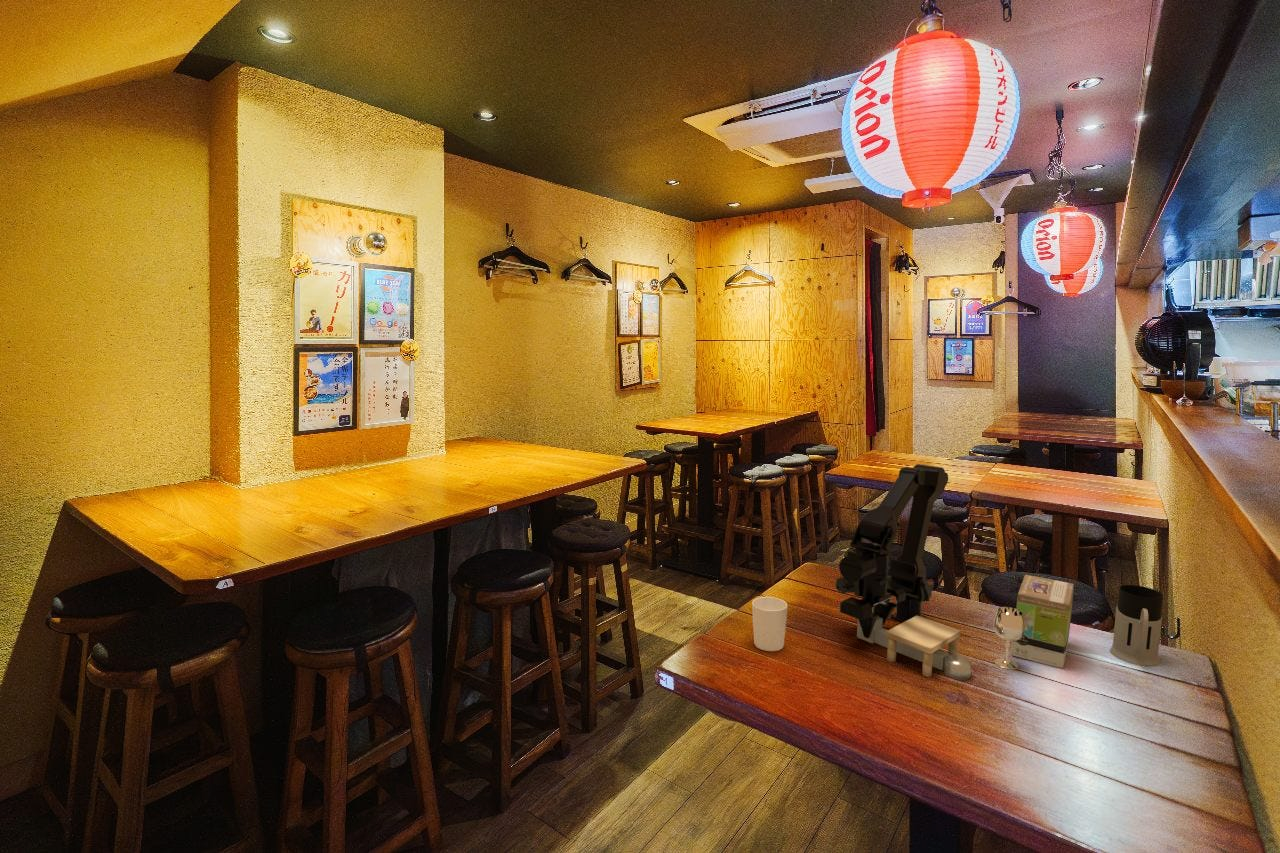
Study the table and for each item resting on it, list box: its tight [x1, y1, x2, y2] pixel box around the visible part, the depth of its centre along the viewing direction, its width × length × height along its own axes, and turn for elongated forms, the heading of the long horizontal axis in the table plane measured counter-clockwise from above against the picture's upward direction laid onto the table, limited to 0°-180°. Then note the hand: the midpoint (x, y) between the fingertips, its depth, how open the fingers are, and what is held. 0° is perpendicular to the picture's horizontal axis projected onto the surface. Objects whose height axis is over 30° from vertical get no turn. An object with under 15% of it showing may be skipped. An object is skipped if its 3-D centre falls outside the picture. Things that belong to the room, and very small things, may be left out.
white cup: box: [751, 596, 788, 652], centre depth 144 cm, size 8×8×10 cm
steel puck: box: [943, 654, 972, 681], centre depth 131 cm, size 5×5×3 cm
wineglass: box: [993, 606, 1025, 670], centre depth 134 cm, size 6×6×12 cm
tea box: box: [1011, 574, 1075, 669], centre depth 140 cm, size 15×10×15 cm, turn 143°
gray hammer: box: [856, 616, 949, 671], centre depth 141 cm, size 4×20×5 cm, turn 37°
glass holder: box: [1109, 584, 1164, 667], centre depth 135 cm, size 9×14×15 cm, turn 148°
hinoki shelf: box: [886, 616, 962, 678], centre depth 137 cm, size 13×10×6 cm
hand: (871, 634), depth 147 cm, fingers closed on gray hammer, 4 cm apart
